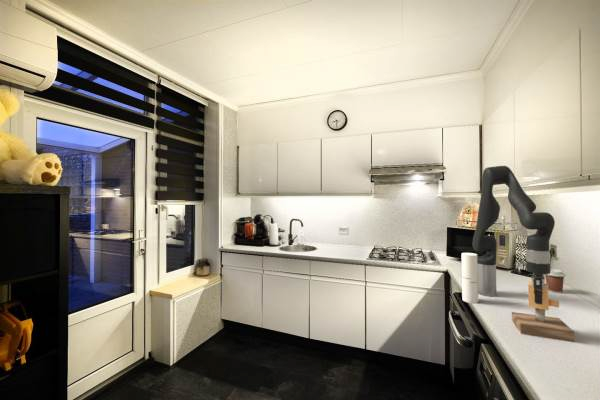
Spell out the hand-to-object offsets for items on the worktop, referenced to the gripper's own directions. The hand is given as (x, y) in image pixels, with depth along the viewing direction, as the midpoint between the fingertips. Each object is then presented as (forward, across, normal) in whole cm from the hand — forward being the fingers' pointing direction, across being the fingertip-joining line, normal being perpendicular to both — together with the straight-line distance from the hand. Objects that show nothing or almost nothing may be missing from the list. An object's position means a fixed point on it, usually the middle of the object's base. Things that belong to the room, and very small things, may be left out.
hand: (538, 301), depth 109 cm
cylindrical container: (+12, -18, -28) cm, 35 cm away
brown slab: (+12, 0, 0) cm, 12 cm away
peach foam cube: (+2, 0, +1) cm, 3 cm away
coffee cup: (+12, -64, +6) cm, 65 cm away
